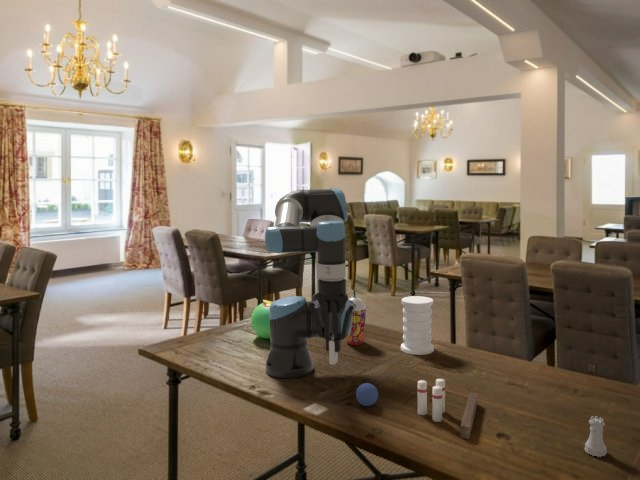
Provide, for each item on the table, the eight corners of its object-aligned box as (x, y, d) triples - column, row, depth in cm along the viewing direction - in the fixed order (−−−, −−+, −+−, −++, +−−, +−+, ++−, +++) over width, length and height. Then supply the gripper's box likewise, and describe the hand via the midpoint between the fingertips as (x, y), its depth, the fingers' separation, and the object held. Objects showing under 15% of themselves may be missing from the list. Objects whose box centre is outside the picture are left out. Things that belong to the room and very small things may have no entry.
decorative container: (434, 344, 194) (434, 296, 192) (433, 355, 183) (433, 304, 181) (401, 343, 197) (401, 295, 195) (399, 353, 186) (399, 303, 183)
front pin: (416, 414, 140) (416, 383, 139) (418, 410, 143) (418, 379, 141) (426, 415, 139) (426, 384, 138) (427, 411, 142) (427, 380, 141)
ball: (353, 408, 145) (352, 386, 144) (359, 399, 150) (359, 378, 149) (374, 411, 143) (374, 389, 142) (380, 402, 148) (380, 381, 147)
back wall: (460, 437, 128) (460, 425, 127) (469, 403, 146) (469, 392, 146) (469, 439, 127) (469, 427, 127) (477, 404, 145) (477, 393, 145)
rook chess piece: (586, 445, 123) (587, 412, 122) (607, 451, 121) (609, 417, 119) (582, 454, 119) (584, 420, 118) (605, 460, 117) (607, 425, 116)
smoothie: (342, 339, 202) (341, 287, 200) (364, 338, 203) (363, 287, 200) (345, 347, 194) (344, 292, 191) (368, 346, 195) (367, 292, 192)
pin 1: (434, 412, 141) (434, 381, 140) (436, 408, 143) (436, 378, 142) (444, 414, 140) (444, 382, 139) (445, 410, 142) (446, 379, 141)
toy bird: (251, 331, 215) (250, 295, 213) (294, 329, 217) (293, 293, 215) (251, 346, 198) (249, 307, 196) (296, 343, 199) (295, 304, 197)
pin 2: (431, 421, 136) (431, 389, 135) (433, 416, 139) (433, 385, 138) (441, 422, 135) (441, 390, 134) (442, 418, 138) (443, 386, 137)
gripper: (304, 279, 144) (306, 364, 147) (350, 282, 139) (351, 370, 142) (314, 274, 151) (316, 356, 154) (359, 277, 146) (360, 360, 149)
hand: (333, 362), depth 148 cm, fingers closed
